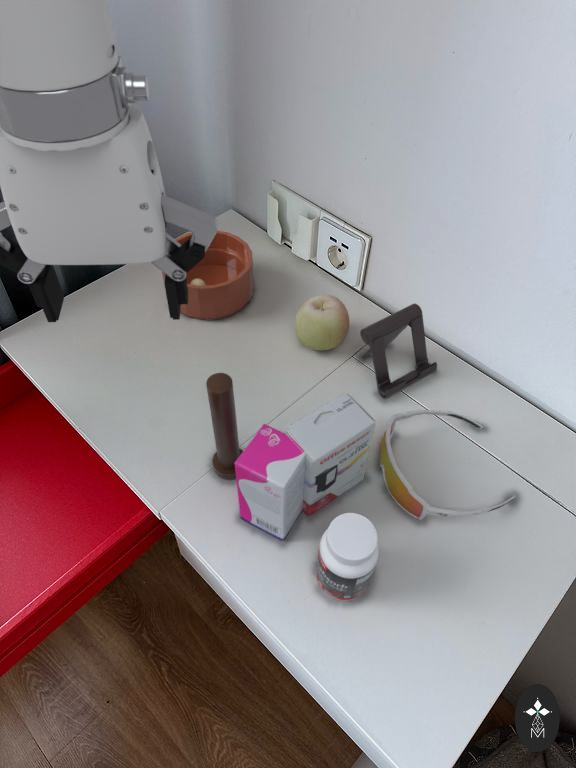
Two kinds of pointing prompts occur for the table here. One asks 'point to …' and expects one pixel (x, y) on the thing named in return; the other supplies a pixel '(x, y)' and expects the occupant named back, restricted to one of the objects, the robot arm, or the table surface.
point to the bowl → (219, 278)
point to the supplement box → (271, 482)
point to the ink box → (333, 449)
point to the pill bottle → (347, 556)
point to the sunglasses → (398, 483)
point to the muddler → (223, 425)
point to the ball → (198, 282)
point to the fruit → (322, 322)
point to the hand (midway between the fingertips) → (117, 309)
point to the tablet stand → (383, 335)
